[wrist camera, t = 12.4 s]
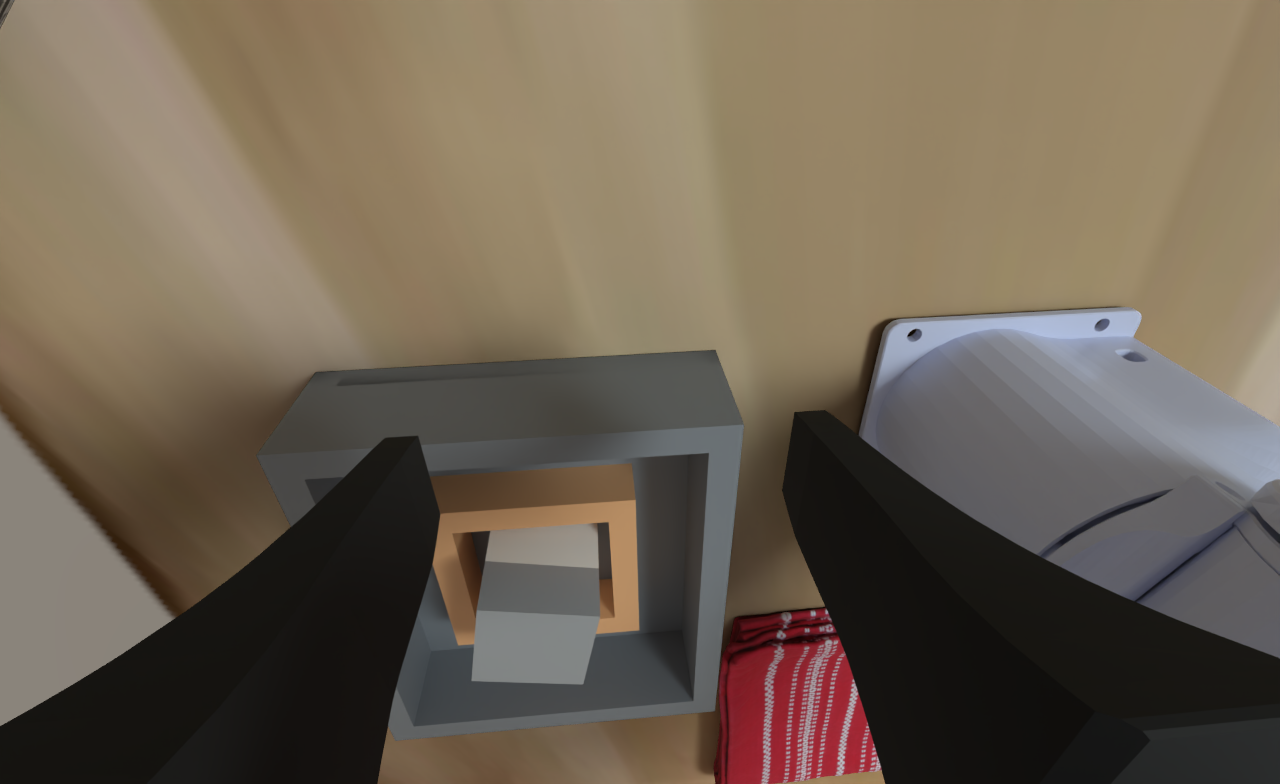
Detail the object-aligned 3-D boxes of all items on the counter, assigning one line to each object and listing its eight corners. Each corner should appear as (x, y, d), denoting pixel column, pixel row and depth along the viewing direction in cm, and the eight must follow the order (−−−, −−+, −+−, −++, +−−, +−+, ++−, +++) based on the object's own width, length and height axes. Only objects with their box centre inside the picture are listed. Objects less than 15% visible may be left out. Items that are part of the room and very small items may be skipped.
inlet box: (715, 350, 21) (744, 424, 17) (698, 622, 30) (714, 711, 26) (315, 372, 20) (256, 455, 17) (419, 646, 29) (395, 740, 25)
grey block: (597, 508, 24) (600, 616, 20) (582, 574, 26) (582, 684, 22) (495, 500, 23) (476, 610, 19) (489, 568, 25) (471, 681, 21)
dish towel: (715, 606, 30) (725, 654, 28) (1150, 566, 32) (1193, 609, 29) (704, 765, 40) (711, 810, 38) (1039, 729, 41) (1065, 771, 39)
